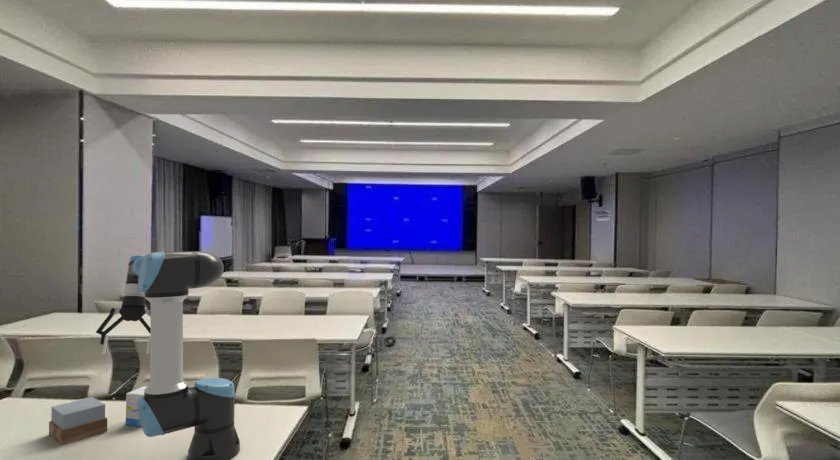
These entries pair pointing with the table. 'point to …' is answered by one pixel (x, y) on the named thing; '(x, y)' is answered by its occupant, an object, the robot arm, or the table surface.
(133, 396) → the ink box
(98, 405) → the grey top slab
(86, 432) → the walnut base slab
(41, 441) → the table surface
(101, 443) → the table surface
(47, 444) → the table surface
